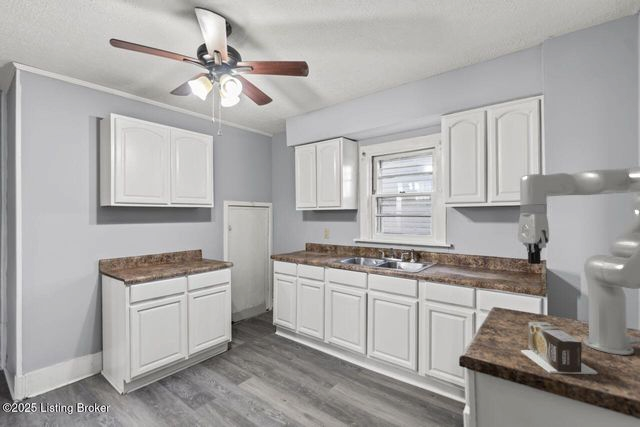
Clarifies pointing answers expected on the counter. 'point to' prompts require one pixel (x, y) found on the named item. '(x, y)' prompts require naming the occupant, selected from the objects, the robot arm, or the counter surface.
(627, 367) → the counter surface
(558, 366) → the coffee box
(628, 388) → the counter surface
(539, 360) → the mat
